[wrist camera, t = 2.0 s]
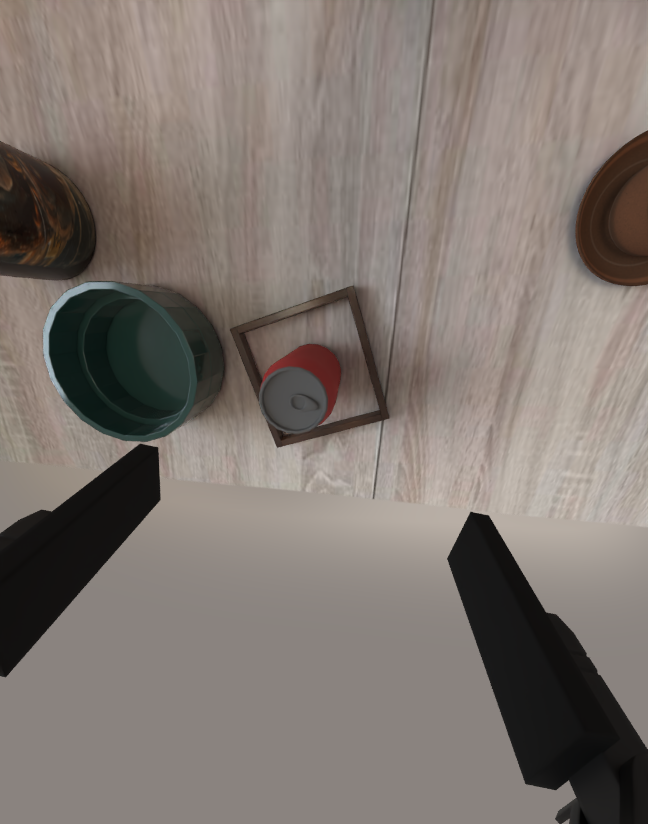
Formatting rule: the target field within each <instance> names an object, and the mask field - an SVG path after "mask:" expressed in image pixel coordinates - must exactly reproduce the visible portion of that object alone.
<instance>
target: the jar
mask: <svg viewBox="0 0 648 824" xmlns="http://www.w3.org/2000/svg"><path fill="white" fill-rule="evenodd" d="M94 247H95V228H94V222H93V218H92V215H91V212H90V209H89V207H88V205H87V203H86V201H85V199H84V197H83V196H82V194H81V193H80V191H79V190H78V188H77V187H76V186H75V185H74V184H73V183H72V181H71V180H70V179H69V178H67V177H66V176H65V175H64V174H63V173H62V172H60V171H59V170H57V169H56V168H54V167H53V166H51V165H49V164H47V163H45V162H43V161H41V160H39V159H37V158H35V157H33V156H31V155H29V154H26V153H24V152H22V151H20V150H18V149H16V148H14V147H12V146H10V145H8V144H5V143H3V142H1V141H0V275H1V276H12V277H22V278H33V279H45V280H65V279H69V278H72V277H74V276H76V275H78V274H79V273H81V272H82V271H83V270H84V269H85V268H86V267H87V265H88V264H89V262H90V260H91V258H92V255H93V252H94Z"/></svg>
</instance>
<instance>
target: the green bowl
mask: <svg viewBox="0 0 648 824" xmlns="http://www.w3.org/2000/svg"><path fill="white" fill-rule="evenodd" d="M43 354H44V355H43V356H44V359H45V362H46V366H47V369H48V372H49V376H50V379H51V381H52V382H53V384H54V386H55V387H56V389H57V391H58V393H59V394H60V396H61V398H62V399H63V401H64V402H65V403H66V404H67V405H68V406H69V407H70V408H71V409H72V410H73V412H74V413H75V414H76V415H77V416H78V417H79V418H80V419H81V420H82V421H84V422H86V423H87V424H89V425H90V426H92V427H93V428H95V429H96V430H98V431H99V432H101V433H103V434H106V435H109V436H112V437H115V438H118V439H120V440H123V441H141V442H148V441H151V440H155V439H158V438H161V437H165V436H167V435H169V434H170V433H172V432H173V431H175V430H176V429H178V428H179V427H181V426H182V425H184V424H185V423H187V422H188V421H190V420H191V419H193V418H194V417H196V416H197V415H198V414H200V413H201V412H202V411H204V410H205V409H206V408H208V407H209V406H210V405H211V404H212V402H213V400H214V399H215V397H216V395H217V394H218V392H219V391H220V387H221V383H222V378H223V373H224V364H223V355H222V349H221V346H220V343H219V341H218V338H217V336H216V333H215V331H214V329H213V327H212V325H211V324H210V323H209V321H208V320H207V319H206V318H205V316H204V315H203V314H202V313H201V311H200V310H199V309H198V308H197V307H196V306H195V305H193V304H192V303H191V302H189V301H188V300H186V299H185V298H184V297H182V296H181V295H180V294H178V293H175V292H172V291H169V290H166V289H163V288H161V287H158V286H150V285H141V284H132V283H123V282H115V281H89V282H86V283H83V284H81V285H79V286H76V287H74V288H72V289H69V290H67V291H66V292H65V293H64V294H63V295H62V296H61V297H60V298H59V299H58V300H57V301H56V303H55V304H54V305H53V306H52V307H51V308H50V311H49V314H48V317H47V320H46V322H45V325H44V328H43Z"/></svg>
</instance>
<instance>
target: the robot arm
mask: <svg viewBox="0 0 648 824" xmlns="http://www.w3.org/2000/svg"><path fill="white" fill-rule="evenodd" d="M159 501H160V476H159V453H158V447H153V446H148V445H143V444H139V445H138V446H137V447H135V448H134V449H133V450H131V451H130V452H129V453H127V454H126V455H125V456H124V457H122V458H121V459H120V460H118V461H117V462H116V463H114V464H113V465H112V466H111V467H109V468H108V469H107V470H105V471H104V472H103V473H101V474H100V475H99V476H98V477H97V478H95V479H94V480H93V481H91V482H90V483H89V484H87V485H86V486H85V487H83V488H82V489H81V490H79V491H78V492H77V493H76V494H74V495H73V496H72V497H70V498H69V499H68V500H66V501H65V502H64V503H63V504H61V505H60V506H59V507H57V508H56V509H55V510H53V511H52V512H51V511H46V510H40V511H37V512H35V513H33V514H31V515H29V516H27V517H25V518H22V519H20V520H18V521H17V522H15V523H14V524H13V525H11V526H10V527H9V528H7V529H6V530H4V531H3V532H2V533H0V676H2V677H6V676H7V675H8V674H9V673H10V672H11V671H12V670H13V668H14V667H15V666H16V665H17V664H18V663H19V662H20V660H21V659H22V658H23V657H24V656H25V655H26V653H27V652H28V651H29V650H30V649H31V648H32V646H33V645H34V644H35V643H36V642H37V641H38V640H39V639H40V637H41V636H42V635H43V634H44V633H45V632H46V631H47V629H48V628H49V627H50V626H51V625H52V624H53V623H54V621H55V620H56V619H57V618H58V617H59V616H60V615H61V613H62V612H63V611H64V610H65V609H66V608H67V606H68V605H69V604H70V603H71V602H72V601H73V599H74V598H75V597H76V596H77V595H78V593H80V591H81V590H82V589H83V588H84V587H85V586H86V585H87V583H88V582H89V581H90V580H91V579H92V578H93V577H94V575H95V574H96V573H97V572H98V571H99V570H100V568H101V567H102V566H103V565H104V564H105V563H106V562H107V561H108V559H109V558H110V557H111V556H112V555H113V554H114V552H115V551H116V550H117V549H118V548H119V547H120V546H121V545H122V543H123V542H124V541H125V540H126V539H127V538H128V536H129V535H130V534H131V533H132V532H133V531H134V530H135V528H136V527H137V526H138V525H139V524H140V523H141V522H142V520H143V519H144V518H145V517H146V516H147V515H148V513H149V512H150V511H151V510H152V509H153V508H154V507H155V506H156V504H157V503H158V502H159ZM447 560H448V562H449V565H450V568H451V571H452V574H453V577H454V580H455V583H456V585H457V588H458V591H459V594H460V597H461V600H462V603H463V606H464V608H465V611H466V614H467V617H468V620H469V623H470V626H471V628H472V631H473V634H474V637H475V640H476V643H477V646H478V649H479V652H480V654H481V657H482V660H483V663H484V666H485V669H486V671H487V675H488V677H489V680H490V683H491V686H492V689H493V692H494V694H495V697H496V700H497V703H498V706H499V709H500V712H501V715H502V717H503V720H504V723H505V726H506V729H507V732H508V735H509V738H510V741H511V743H512V746H513V749H514V752H515V755H516V758H517V761H518V764H519V767H520V769H521V772H522V775H523V778H524V781H525V784H528V785H533V786H538V787H543V788H547V789H552V790H557V789H558V788H559V787H561V786H562V785H563V784H564V783H566V782H567V781H568V780H569V781H570V784H571V786H572V788H573V791H574V793H575V795H576V797H577V798H576V799H574V800H573V801H571V802H570V803H569V804H567V805H566V806H565V807H563V808H562V809H560V810H559V811H558V813H557V816H556V818H555V819H556V820H557V821H558V823H559V824H562V823H563V822H565V821H566V820H568V819H569V818H570V822H569V824H648V749H647V748H646V747H645V745H644V743H643V742H642V740H641V739H640V737H639V735H638V734H637V732H636V731H635V729H634V728H633V726H632V724H631V723H630V721H629V720H628V718H627V716H626V715H625V713H624V712H623V710H622V709H621V707H620V705H619V704H618V702H617V701H616V699H615V697H614V696H613V694H612V693H611V691H610V690H609V688H608V686H607V685H606V683H605V682H604V680H603V679H602V677H601V676H600V675H598V673H597V669H596V668H595V666H594V665H593V663H592V661H591V660H590V658H589V657H587V656H586V652H585V650H584V649H583V647H582V645H581V644H580V643H579V641H578V639H577V638H576V636H575V634H574V633H573V632H572V631H571V630H570V629H569V628H568V626H567V625H566V624H565V623H564V622H563V621H562V620H561V619H560V618H559V617H558V616H557V615H556V614H551V613H546V612H545V610H544V608H543V607H542V605H541V603H540V602H539V600H538V598H537V597H536V595H535V593H534V592H533V590H532V588H531V586H530V585H529V583H528V581H527V580H526V578H525V576H524V575H523V573H522V571H521V569H520V568H519V566H518V564H517V563H516V561H515V559H514V557H513V556H512V554H511V552H510V551H509V549H508V547H507V546H506V544H505V542H504V541H503V539H502V537H501V535H500V534H499V532H498V530H497V529H496V527H495V525H494V524H493V522H492V520H491V519H490V517H489V516H488V515H483V514H479V513H473V512H470V514H469V516H468V518H467V520H466V522H465V524H464V526H463V528H462V530H461V532H460V534H459V536H458V538H457V540H456V542H455V544H454V546H453V548H452V550H451V552H450V554H449V556H448V558H447Z"/></svg>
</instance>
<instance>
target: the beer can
mask: <svg viewBox="0 0 648 824" xmlns="http://www.w3.org/2000/svg"><path fill="white" fill-rule="evenodd" d="M340 379H341V368H340V364H339V361H338V360H337V358H336V357H335V355H334V354H333V353H332V352H331V351H330V350H328V349H327V348H325V347H323V346H320V345H317V344H307V345H303V346H300V347H298V348H297V349H295V350H294V351H292V352H291V353H289V354H288V355H286V356H285V357H283V358H282V359H280V360H279V361H277V362H276V363H274V364H273V365H271V367H270V368H269V369H268V371H267V372H266V373H265V375H264V378H263V381H262V384H261V387H260V392H259V405H260V408H261V411H262V414H263V415H264V417H265V418H266V419H267V421H268V422H269V423H270V424H271V425H273V426H274V427H275V428H276V429H278V430H281V431H283V432H286V433H292V434H300V433H305V432H308V431H310V430H312V429H314V428H315V427H317V426H318V425H320V424H322V423H323V422H324V421H325V420H326V419H327V417H328V416H329V415H330V414H331V412H332V410H333V408H334V405H335V403H336V398H337V393H338V389H339V384H340Z"/></svg>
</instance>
